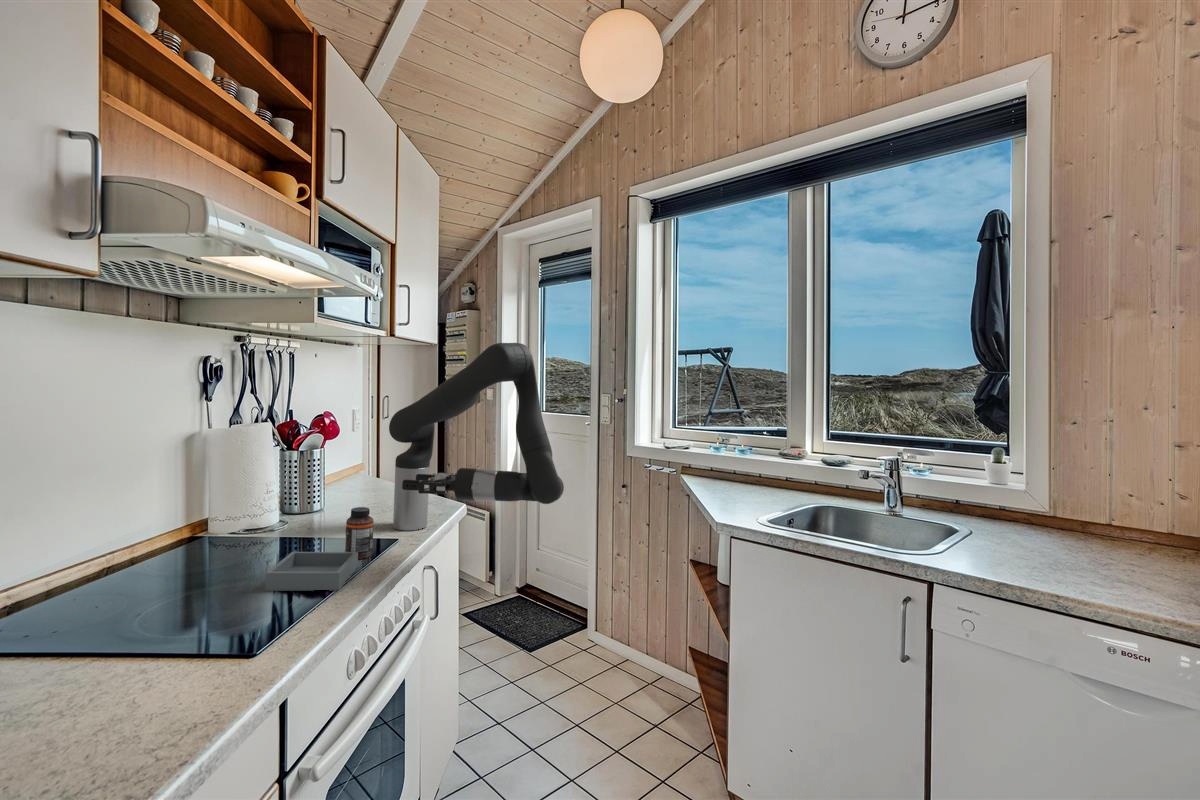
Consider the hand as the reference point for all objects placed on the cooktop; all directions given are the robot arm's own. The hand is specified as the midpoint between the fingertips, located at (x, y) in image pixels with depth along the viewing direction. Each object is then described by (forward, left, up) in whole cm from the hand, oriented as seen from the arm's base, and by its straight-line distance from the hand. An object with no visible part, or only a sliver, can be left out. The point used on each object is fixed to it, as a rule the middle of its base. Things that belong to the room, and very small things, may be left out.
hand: (409, 481), depth 135 cm
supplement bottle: (-1, -11, -18) cm, 21 cm away
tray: (+14, -16, -18) cm, 28 cm away
